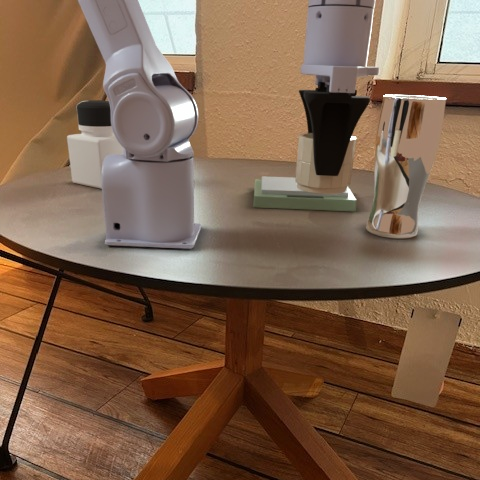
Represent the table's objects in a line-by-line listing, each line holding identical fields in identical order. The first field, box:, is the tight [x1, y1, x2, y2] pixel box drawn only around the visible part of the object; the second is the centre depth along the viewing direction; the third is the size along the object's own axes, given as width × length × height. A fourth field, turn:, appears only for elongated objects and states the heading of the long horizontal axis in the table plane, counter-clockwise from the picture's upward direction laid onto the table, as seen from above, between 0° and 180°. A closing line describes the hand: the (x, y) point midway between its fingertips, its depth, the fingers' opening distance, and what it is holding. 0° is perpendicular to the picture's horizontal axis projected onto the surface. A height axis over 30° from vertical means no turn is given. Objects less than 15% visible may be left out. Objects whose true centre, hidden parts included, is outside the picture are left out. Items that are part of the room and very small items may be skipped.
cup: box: [294, 132, 357, 194], centre depth 50 cm, size 6×6×5 cm
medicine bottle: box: [66, 99, 124, 190], centre depth 77 cm, size 7×7×12 cm
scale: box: [253, 175, 358, 212], centre depth 73 cm, size 14×11×2 cm
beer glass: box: [365, 94, 447, 240], centre depth 58 cm, size 7×7×15 cm
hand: (323, 169), depth 50 cm, fingers closed on cup, 5 cm apart
